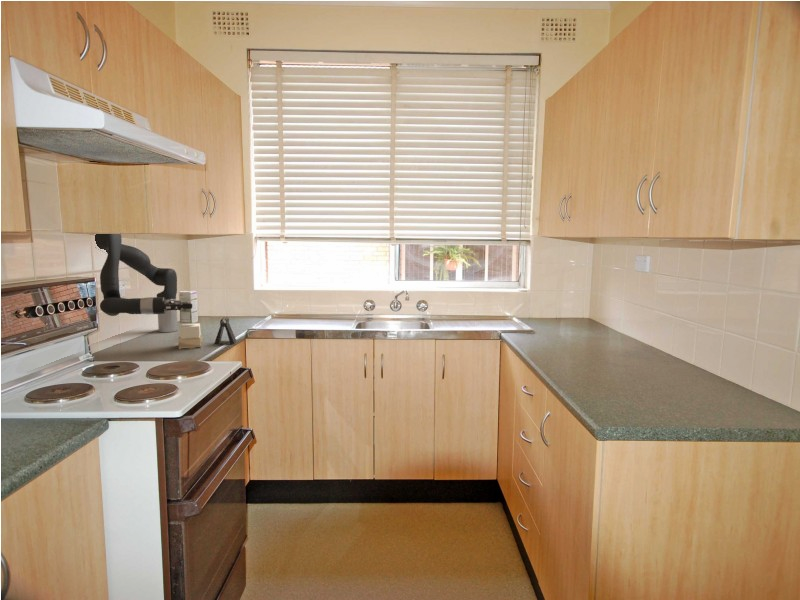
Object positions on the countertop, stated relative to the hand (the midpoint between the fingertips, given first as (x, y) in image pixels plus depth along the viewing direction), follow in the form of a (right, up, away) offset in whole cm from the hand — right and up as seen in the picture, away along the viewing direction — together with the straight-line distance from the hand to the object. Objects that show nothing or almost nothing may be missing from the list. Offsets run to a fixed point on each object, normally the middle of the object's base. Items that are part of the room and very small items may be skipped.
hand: (193, 304), depth 218 cm
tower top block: (-2, -14, +2) cm, 14 cm away
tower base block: (-2, -19, +2) cm, 19 cm away
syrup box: (-2, -8, 0) cm, 8 cm away
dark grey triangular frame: (+11, -18, +9) cm, 24 cm away
